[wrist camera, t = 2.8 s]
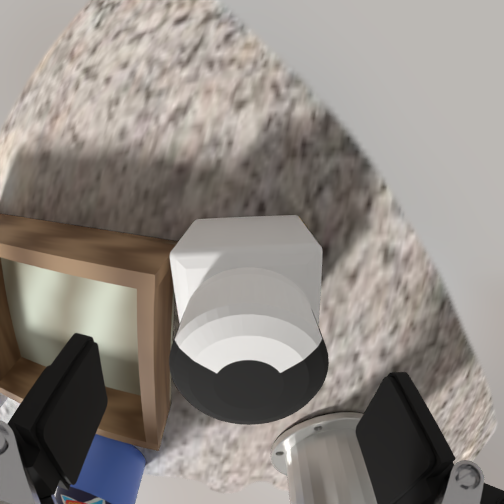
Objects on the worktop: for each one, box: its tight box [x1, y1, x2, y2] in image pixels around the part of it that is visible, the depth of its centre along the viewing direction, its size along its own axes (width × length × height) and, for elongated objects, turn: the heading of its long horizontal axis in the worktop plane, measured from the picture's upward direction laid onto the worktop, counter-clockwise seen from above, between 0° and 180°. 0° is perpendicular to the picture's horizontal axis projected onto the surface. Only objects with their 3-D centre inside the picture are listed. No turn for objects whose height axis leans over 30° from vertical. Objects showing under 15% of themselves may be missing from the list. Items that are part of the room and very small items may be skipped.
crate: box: [0, 214, 179, 451], centre depth 20 cm, size 18×16×6 cm
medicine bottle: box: [169, 215, 329, 425], centre depth 16 cm, size 7×7×12 cm
